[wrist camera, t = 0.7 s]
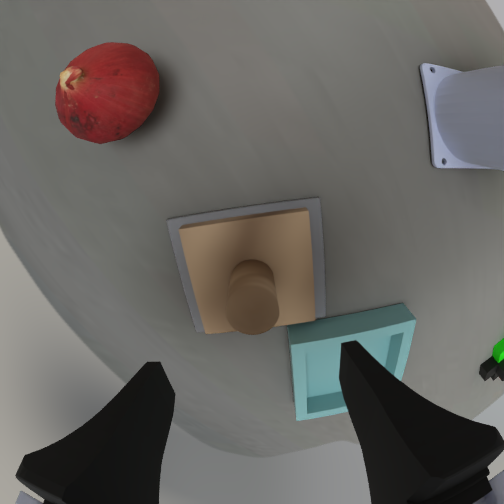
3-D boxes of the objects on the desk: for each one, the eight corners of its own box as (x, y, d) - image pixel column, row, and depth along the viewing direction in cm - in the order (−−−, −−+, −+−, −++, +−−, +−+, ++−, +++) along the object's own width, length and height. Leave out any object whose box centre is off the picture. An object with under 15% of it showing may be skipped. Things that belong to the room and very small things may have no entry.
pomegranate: (156, 151, 17) (93, 158, 9) (87, 132, 16) (8, 136, 8) (187, 69, 15) (144, 21, 7) (113, 56, 14) (46, 22, 6)
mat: (318, 196, 18) (320, 197, 17) (324, 313, 21) (325, 316, 21) (168, 218, 18) (166, 220, 18) (197, 329, 21) (196, 332, 21)
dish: (403, 302, 21) (416, 319, 18) (387, 381, 24) (395, 398, 22) (286, 324, 21) (290, 345, 19) (293, 401, 25) (296, 421, 22)
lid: (305, 207, 18) (325, 230, 13) (312, 313, 20) (327, 357, 16) (182, 225, 18) (159, 253, 13) (207, 326, 21) (197, 372, 16)
